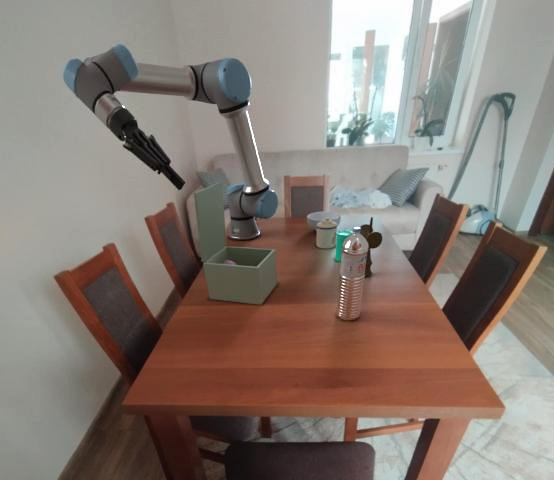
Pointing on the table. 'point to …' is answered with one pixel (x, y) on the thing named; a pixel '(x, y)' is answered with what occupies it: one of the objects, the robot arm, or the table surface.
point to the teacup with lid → (326, 234)
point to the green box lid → (210, 220)
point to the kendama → (370, 243)
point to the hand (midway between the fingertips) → (182, 186)
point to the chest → (241, 274)
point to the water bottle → (352, 276)
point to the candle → (340, 239)
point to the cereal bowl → (322, 218)
